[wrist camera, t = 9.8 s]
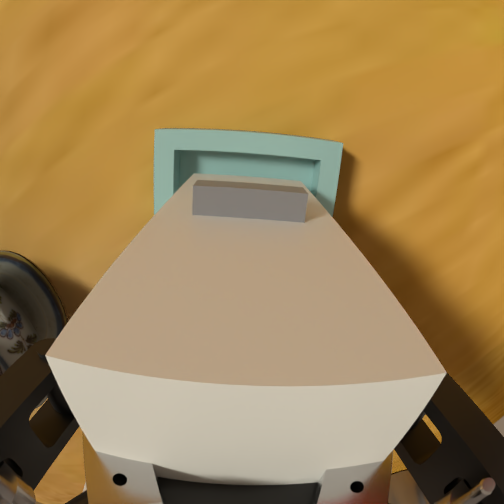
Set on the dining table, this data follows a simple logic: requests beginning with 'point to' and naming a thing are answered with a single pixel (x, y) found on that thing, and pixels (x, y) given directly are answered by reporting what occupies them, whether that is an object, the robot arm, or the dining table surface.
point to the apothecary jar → (25, 309)
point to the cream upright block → (243, 343)
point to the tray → (244, 159)
